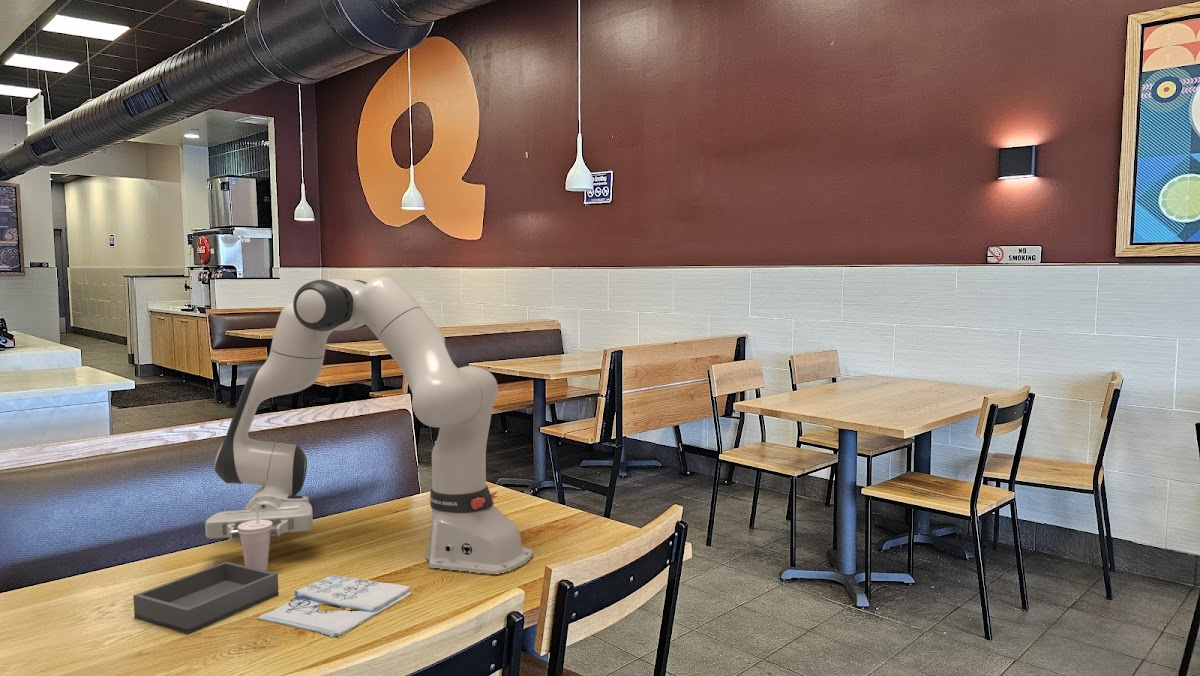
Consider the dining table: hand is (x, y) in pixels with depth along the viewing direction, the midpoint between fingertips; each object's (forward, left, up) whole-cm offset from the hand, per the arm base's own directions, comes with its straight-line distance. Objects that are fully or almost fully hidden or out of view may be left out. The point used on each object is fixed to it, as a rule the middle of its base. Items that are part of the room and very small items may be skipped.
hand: (254, 533), depth 153 cm
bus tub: (-5, +14, -8) cm, 17 cm away
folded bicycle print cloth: (-25, +4, -9) cm, 27 cm away
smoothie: (+1, -1, -8) cm, 8 cm away
